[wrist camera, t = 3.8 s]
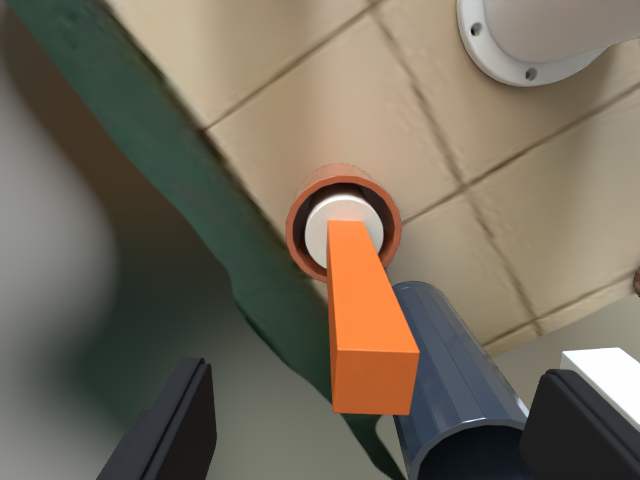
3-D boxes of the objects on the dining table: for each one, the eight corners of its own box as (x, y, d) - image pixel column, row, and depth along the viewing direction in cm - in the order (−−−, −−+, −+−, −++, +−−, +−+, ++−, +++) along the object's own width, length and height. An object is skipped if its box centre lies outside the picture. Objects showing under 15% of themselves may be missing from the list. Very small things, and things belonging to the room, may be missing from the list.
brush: (309, 179, 28) (285, 300, 9) (372, 182, 28) (483, 308, 9) (307, 239, 30) (284, 447, 11) (366, 241, 30) (449, 452, 11)
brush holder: (294, 161, 29) (286, 172, 22) (388, 165, 29) (408, 177, 22) (292, 249, 31) (285, 283, 25) (378, 253, 31) (394, 287, 25)
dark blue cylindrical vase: (373, 279, 32) (420, 416, 17) (457, 282, 32) (576, 421, 17) (366, 348, 35) (401, 519, 20) (443, 351, 35) (535, 523, 20)
